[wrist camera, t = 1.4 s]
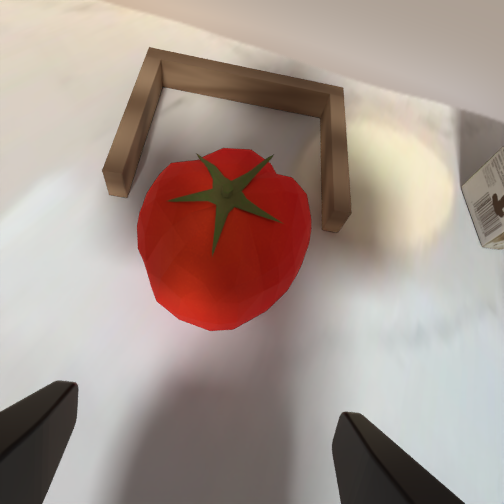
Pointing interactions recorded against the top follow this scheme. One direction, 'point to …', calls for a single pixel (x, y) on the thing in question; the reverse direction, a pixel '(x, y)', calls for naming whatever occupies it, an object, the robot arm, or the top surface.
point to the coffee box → (488, 201)
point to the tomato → (222, 237)
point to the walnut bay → (241, 90)
